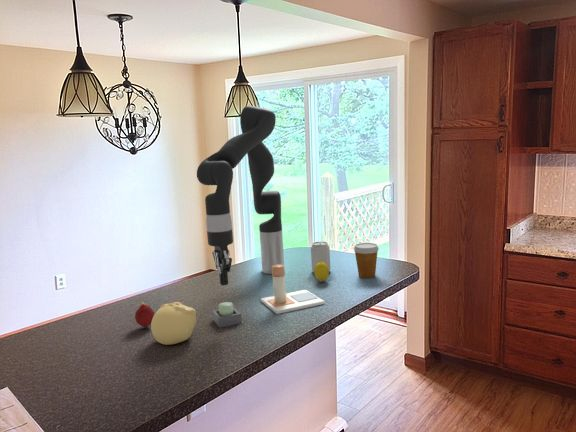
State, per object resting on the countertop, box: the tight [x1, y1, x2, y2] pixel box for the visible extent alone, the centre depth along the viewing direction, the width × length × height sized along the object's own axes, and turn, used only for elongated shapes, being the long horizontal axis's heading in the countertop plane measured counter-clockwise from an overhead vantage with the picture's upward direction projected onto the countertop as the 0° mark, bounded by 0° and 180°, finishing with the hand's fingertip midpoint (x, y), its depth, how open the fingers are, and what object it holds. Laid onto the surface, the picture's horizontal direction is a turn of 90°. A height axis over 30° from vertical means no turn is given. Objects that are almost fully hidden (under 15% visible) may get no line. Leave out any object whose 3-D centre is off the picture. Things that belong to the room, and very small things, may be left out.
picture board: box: [260, 289, 325, 315], centre depth 163 cm, size 14×17×1 cm
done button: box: [218, 301, 234, 317], centre depth 149 cm, size 4×4×4 cm
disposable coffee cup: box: [353, 242, 380, 279], centre depth 187 cm, size 10×10×12 cm
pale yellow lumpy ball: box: [150, 301, 197, 346], centre depth 138 cm, size 12×12×11 cm
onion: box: [134, 302, 156, 328], centre depth 148 cm, size 6×6×8 cm
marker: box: [271, 264, 287, 303], centre depth 160 cm, size 4×4×12 cm
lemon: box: [313, 261, 330, 283], centre depth 183 cm, size 6×6×8 cm
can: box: [310, 241, 331, 273], centre depth 196 cm, size 8×8×12 cm
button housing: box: [211, 306, 242, 329], centre depth 150 cm, size 7×7×3 cm
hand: (224, 284), depth 148 cm, fingers closed
